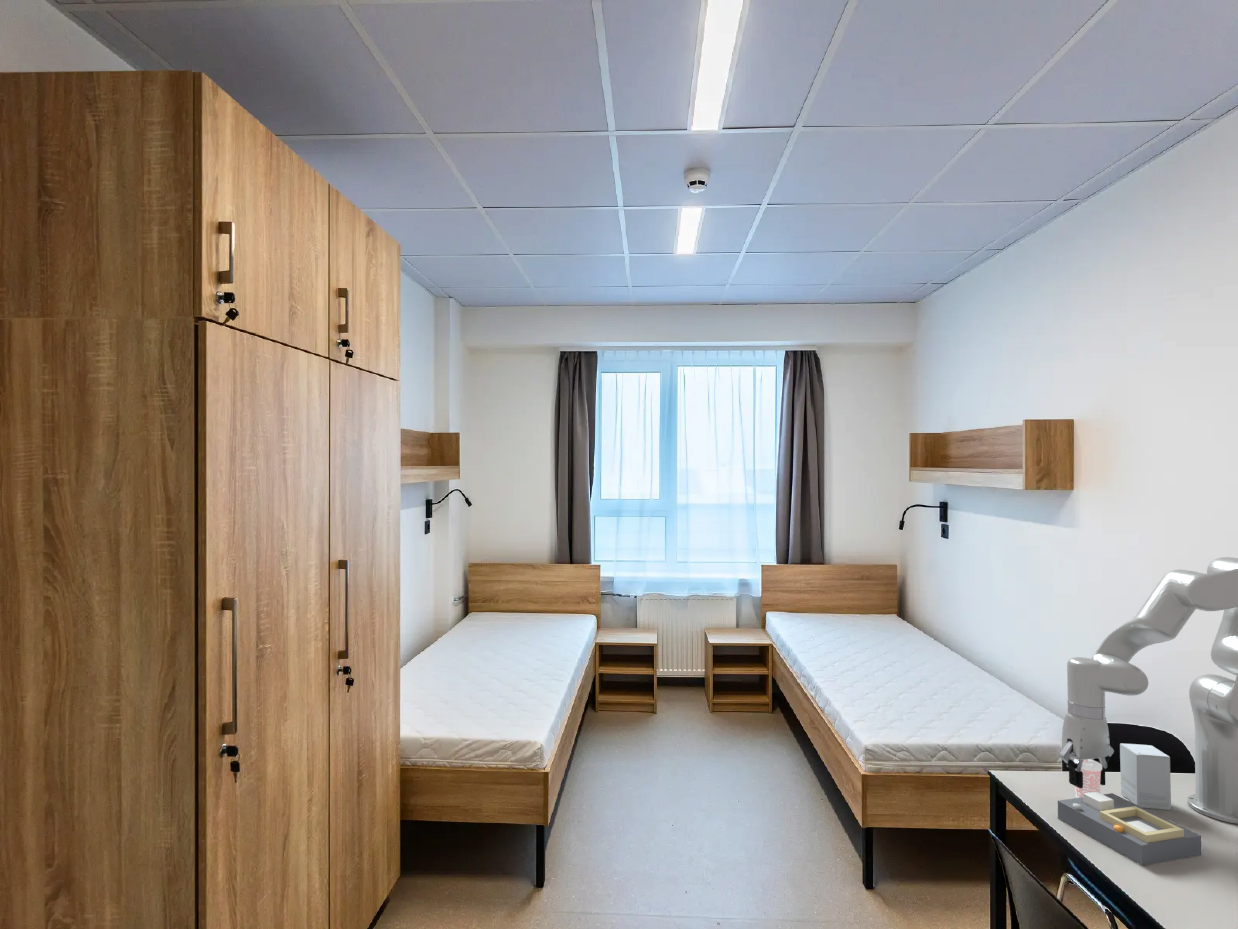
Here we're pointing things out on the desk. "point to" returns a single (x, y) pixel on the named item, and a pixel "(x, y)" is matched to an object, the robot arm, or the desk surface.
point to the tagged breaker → (1141, 826)
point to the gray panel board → (1131, 830)
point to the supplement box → (1145, 776)
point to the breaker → (1098, 801)
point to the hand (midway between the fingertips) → (1087, 783)
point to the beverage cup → (1089, 777)
